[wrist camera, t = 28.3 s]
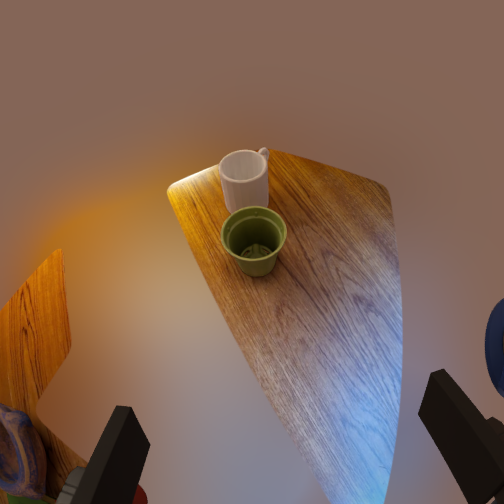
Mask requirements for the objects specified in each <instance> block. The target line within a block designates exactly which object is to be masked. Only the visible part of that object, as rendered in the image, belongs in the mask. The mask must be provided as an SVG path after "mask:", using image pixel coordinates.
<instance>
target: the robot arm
mask: <svg viewBox="0 0 504 504" xmlns="http://www.w3.org/2000/svg"><path fill="white" fill-rule="evenodd" d="M503 354H504V332H503ZM418 415H419V417H420V419H421V420H422V422H423V424H424V425H425V427H426V429H427V430H428V432H429V434H430V435H431V437H432V439H433V440H434V442H435V444H436V446H437V447H438V449H439V451H440V452H441V454H442V456H443V457H444V460H445V461H446V463H447V465H448V467H449V468H450V470H451V472H452V474H453V476H454V478H455V479H456V481H457V483H458V485H459V486H460V489H461V491H462V492H463V494H464V496H465V498H466V500H467V502H468V504H486V503H487V502H488V501H489V500H490V499H491V498H492V497H493V496H494V497H495V500H494V501H493V502H492V503H491V504H504V425H503V423H502V422H500V421H499V420H497V419H495V418H494V417H491V418H489V419H487V420H486V419H485V418H484V417H483V415H482V414H481V413H480V412H479V410H478V409H477V408H476V407H475V405H474V404H473V403H472V402H471V400H470V399H469V398H468V397H467V395H466V394H465V393H464V392H463V391H462V389H461V388H460V387H459V386H458V385H457V383H456V382H455V381H454V380H453V379H452V378H451V377H450V375H449V374H448V373H447V372H446V371H445V369H441V370H438V371H435V372H432V373H431V374H430V377H429V381H428V384H427V387H426V391H425V394H424V397H423V400H422V403H421V406H420V409H419V412H418ZM149 448H150V443H149V441H148V439H147V437H146V435H145V433H144V432H143V430H142V428H141V426H140V424H139V422H138V420H137V418H136V416H135V414H134V411H133V409H132V407H127V406H116V407H115V409H114V411H113V413H112V416H111V417H110V420H109V421H108V423H107V425H106V427H105V429H104V431H103V433H102V435H101V437H100V440H99V442H98V444H97V446H96V448H95V450H94V452H93V454H92V456H91V458H90V461H89V463H88V465H87V467H86V468H83V467H80V466H77V467H76V468H75V469H74V470H73V471H72V472H70V473H69V475H68V477H67V479H66V482H65V485H64V486H63V488H62V492H60V494H59V496H58V498H57V501H56V503H55V504H132V503H133V500H134V496H135V493H136V490H137V486H138V483H139V480H140V477H141V473H142V470H143V467H144V463H145V461H146V457H147V454H148V451H149Z"/></svg>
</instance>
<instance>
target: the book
mask: <svg viewBox="0 0 504 504" xmlns="http://www.w3.org/2000/svg"><path fill="white" fill-rule="evenodd" d="M7 497H8V501H9V504H55V503H56V501H57V499H56V498H54V497H51V496H49V495H47V494H45V495H44V497H43V498H42V499H40V500H32V499H30V498H27V497H18V496H13V495H10V494H8V493H7Z"/></svg>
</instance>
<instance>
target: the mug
mask: <svg viewBox="0 0 504 504" xmlns="http://www.w3.org/2000/svg"><path fill="white" fill-rule="evenodd" d="M263 154H264V156H262V155H263ZM268 156H269V151H268V149H267V148H265V147H263V148H261V149H260V150H259V151H258V152H255V151H251V150H238V151H235V152H232V153H230V154H228V155H226V156H225V157H224V158H223V159H222V160H221V162H220V164H219V175H220V180H221V184H222V189H223V194H224V199H225V203H226V207H227V209H228V211H229V212H230V213H231V214H232V213H234V212H235V211H237V210H239V209H242V208H245V207H249V206H261V207H265V208H267V206H268V203H269V199H268V168H267V161H268Z"/></svg>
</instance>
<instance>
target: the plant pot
mask: <svg viewBox="0 0 504 504" xmlns="http://www.w3.org/2000/svg"><path fill="white" fill-rule="evenodd" d="M286 235H287V229H286V225H285V223H284V221H283V219H282V218H281V217H280V215H278V214H277V213H276V212H274V211H273V210H271V209H269V208H265V207H261V206H249V207H245V208H242V209H239V210H237V211H235V212H234V213H232V214H231V215H230V216H229V217H228V218H227V219H226V221H225V222H224V224H223V226H222V229H221V241H222V244H223V246H224V248H225V250H226V251H227V252H228V253H229V254H230V255H232V256H233V257H235V259H236V261H237V263H238V265H239V267H240V268H241V270H242V271H243V272H244V273H245V274H247V275H249V276H252V277H256V276H264V275H266V274H268V273H269V272H270V271H271V270H272V269H273V267H274V265H275V262H276V258H277V254H278V251H279V250H280V249H281V248H282V246H283V245H284V243H285V240H286ZM263 249H265V250H267V251H268V252H269V253H267V252H265V251H264V250H263ZM248 250H250V251H249V252H248V253H247V254H246V255H245V256H244V253H245V252H246V251H248ZM256 258H257V259H256Z"/></svg>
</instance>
